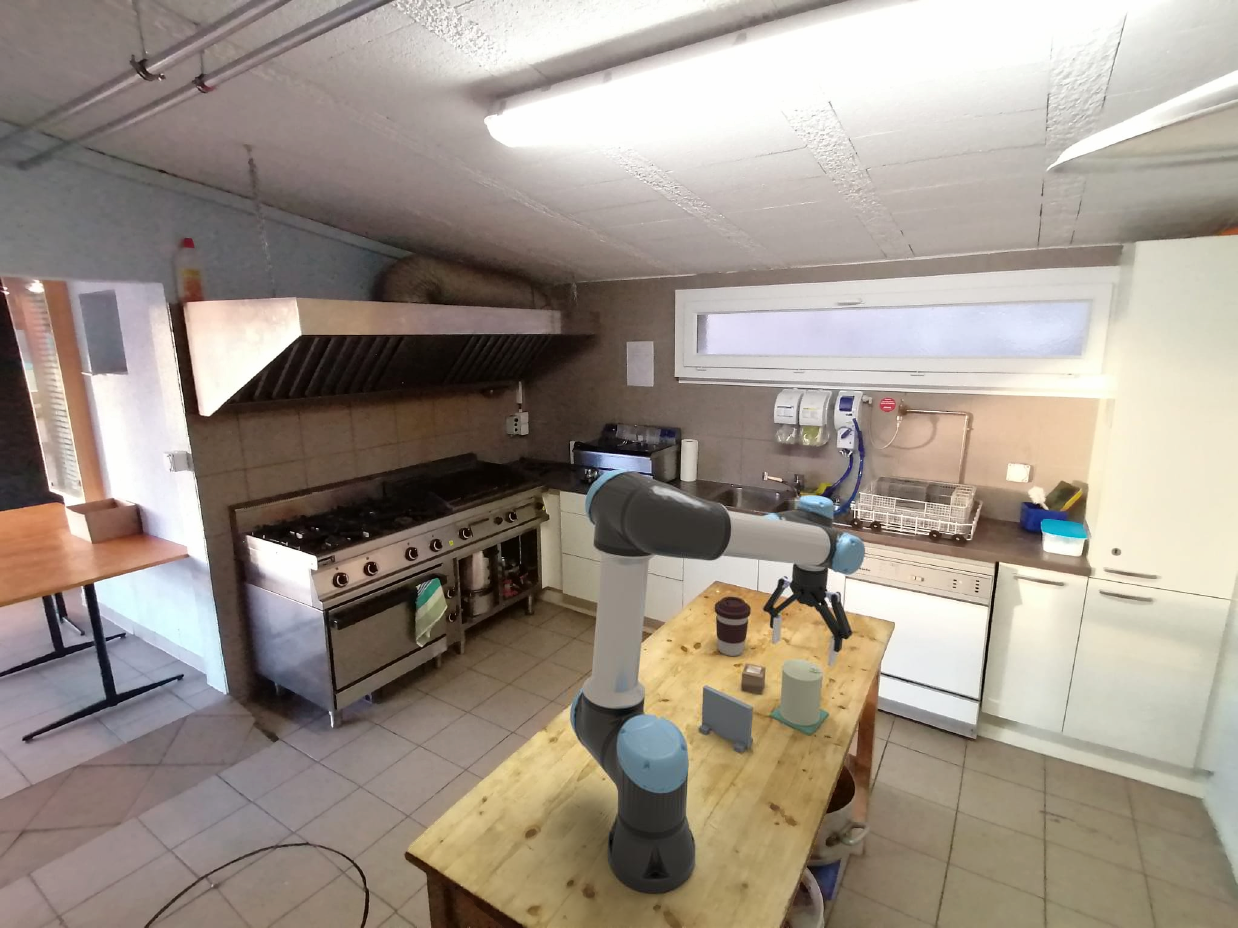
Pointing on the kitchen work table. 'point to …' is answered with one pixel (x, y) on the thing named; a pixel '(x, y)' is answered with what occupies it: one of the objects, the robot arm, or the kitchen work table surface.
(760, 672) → the letter cube
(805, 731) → the mat
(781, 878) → the kitchen work table surface
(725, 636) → the coffee cup
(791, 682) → the can
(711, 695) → the screen
